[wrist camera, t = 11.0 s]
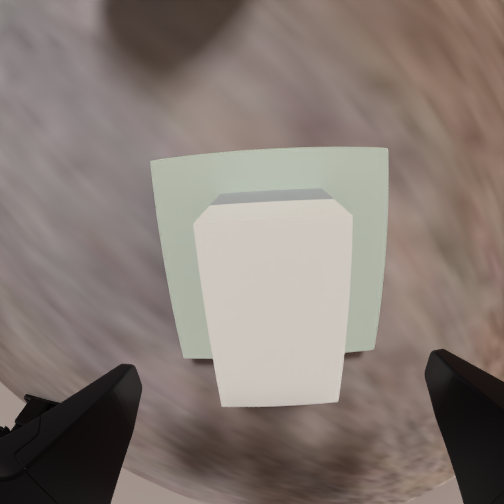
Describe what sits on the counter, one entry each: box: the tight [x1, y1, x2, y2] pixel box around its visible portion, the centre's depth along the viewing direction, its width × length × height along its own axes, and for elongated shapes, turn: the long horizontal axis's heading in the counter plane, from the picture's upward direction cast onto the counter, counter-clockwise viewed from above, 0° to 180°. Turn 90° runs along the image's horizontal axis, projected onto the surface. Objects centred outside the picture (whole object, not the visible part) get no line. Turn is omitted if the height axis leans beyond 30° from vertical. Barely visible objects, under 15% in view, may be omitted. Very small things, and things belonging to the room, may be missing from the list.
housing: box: [193, 188, 353, 407], centre depth 14 cm, size 5×8×6 cm, turn 4°
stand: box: [150, 147, 388, 359], centre depth 18 cm, size 12×12×2 cm
